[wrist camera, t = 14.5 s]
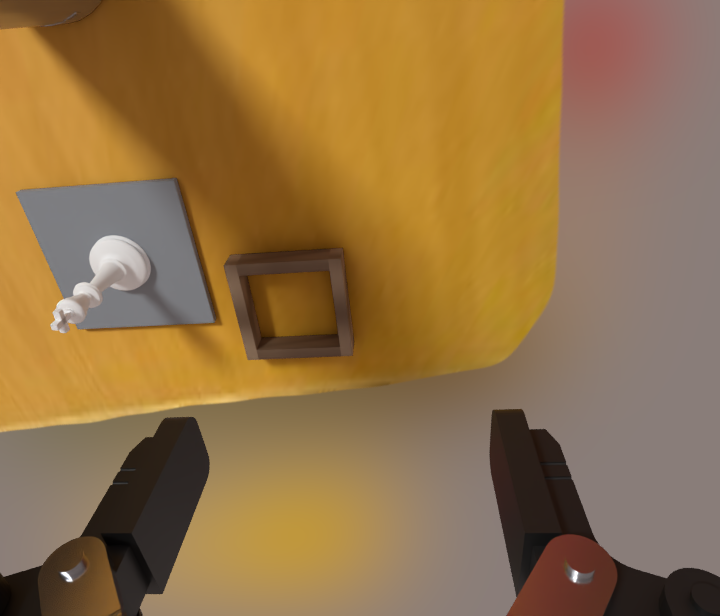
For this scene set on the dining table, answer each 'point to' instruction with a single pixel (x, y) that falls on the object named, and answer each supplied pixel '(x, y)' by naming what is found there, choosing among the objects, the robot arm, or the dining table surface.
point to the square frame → (290, 263)
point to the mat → (133, 221)
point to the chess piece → (104, 278)
